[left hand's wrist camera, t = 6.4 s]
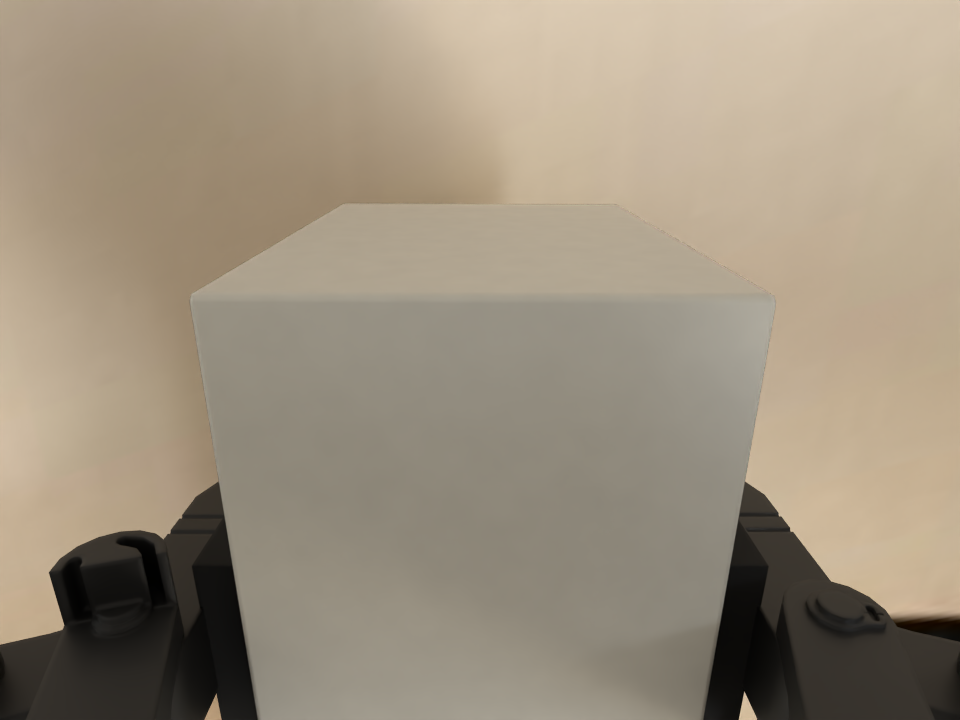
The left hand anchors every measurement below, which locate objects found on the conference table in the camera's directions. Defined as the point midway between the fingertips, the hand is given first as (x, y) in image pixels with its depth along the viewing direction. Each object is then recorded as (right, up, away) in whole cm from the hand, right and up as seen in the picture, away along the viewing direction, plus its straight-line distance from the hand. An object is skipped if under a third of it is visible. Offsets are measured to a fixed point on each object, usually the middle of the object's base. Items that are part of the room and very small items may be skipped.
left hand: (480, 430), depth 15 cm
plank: (0, -20, +8) cm, 21 cm away
